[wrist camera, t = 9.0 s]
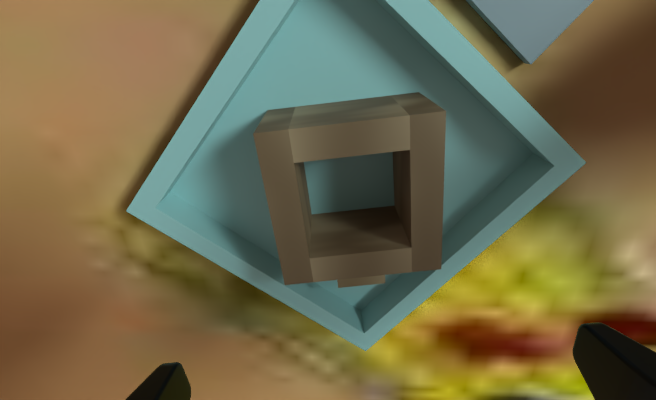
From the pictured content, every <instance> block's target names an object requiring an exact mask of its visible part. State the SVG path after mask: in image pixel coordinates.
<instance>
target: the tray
mask: <svg viewBox="0 0 656 400" xmlns="http://www.w3.org/2000/svg"><path fill="white" fill-rule="evenodd" d="M415 92H420V93H421V94H422V95H424V96H425V97H427V98H428V99H430V100H431V101H432V102H434V103H435V104H437V105H438V106H440V107H441V108H443V109H444V110H445V111H446V133H445V166H444V198H443V230H442V263H441V269H439V270H429V271H419V272H409V273H399V274H390V275H385V283H383V284H373V285H363V286H353V287H343V288H338V282H337V280H331V281H321V282H311V283H301V284H291V285H285V284H284V279H283V274H282V269H281V265H280V260H279V255H278V250H277V246H276V241H275V236H274V231H273V227H272V222H271V217H270V212H269V208H268V203H267V198H266V193H265V189H264V184H263V179H262V174H261V170H260V165H259V160H258V155H257V150H256V146H255V141H254V136H253V133H254V131H255V130H256V128H257V126H258V125H259V123H260V122H261V120H262V118H263V117H264V115H265V114H266V112H267V110H272V109H281V108H289V107H298V106H306V105H314V104H323V103H331V102H340V101H348V100H356V99H365V98H373V97H382V96H390V95H398V94H407V93H415ZM584 164H586V162H585V161H584V160H583V159H582V158H581V157H580V156H579V155H578V154H577V152H576V151H575V150H574V149H573V148H572V147H571V146H570V145H569V144H568V143H567V142H566V141H565V140H564V139H563V138H562V137H561V136H560V135H559V134H558V133H557V132H556V131H555V130H554V129H553V128H552V127H551V126H550V125H549V124H548V123H547V122H546V121H545V120H544V119H543V118H542V117H541V116H540V114H539V113H538V112H537V111H536V110H535V109H534V108H533V107H532V106H531V105H530V104H529V103H528V102H527V101H526V100H525V99H524V98H523V97H522V96H521V95H520V94H519V93H518V92H517V91H516V90H515V89H514V88H513V87H512V86H511V85H510V84H509V83H508V82H507V81H506V80H505V79H504V78H503V76H502V75H501V74H500V73H499V72H498V71H497V70H496V69H495V68H494V67H493V66H492V65H491V64H490V63H489V62H488V61H487V60H486V59H485V58H484V57H483V56H482V55H481V54H480V53H479V52H478V51H477V50H476V49H475V48H474V47H473V46H472V45H471V44H470V43H469V42H468V41H467V40H466V39H465V37H464V36H463V35H462V34H461V33H460V32H459V31H458V30H457V29H456V28H455V27H454V26H453V25H452V24H451V23H450V22H449V21H448V20H447V19H446V18H445V17H444V16H443V15H442V14H441V13H440V12H439V11H438V10H437V9H436V8H435V7H434V6H433V5H432V4H431V3H430V2H429V1H428V0H260V1H259V2H258V4H257V5H256V7H255V9H254V10H253V12H252V13H251V15H250V16H249V18H248V20H247V21H246V23H245V24H244V26H243V27H242V29H241V31H240V32H239V34H238V35H237V37H236V38H235V40H234V42H233V43H232V45H231V46H230V48H229V49H228V51H227V53H226V54H225V56H224V57H223V59H222V61H221V62H220V64H219V65H218V67H217V68H216V70H215V72H214V73H213V75H212V76H211V78H210V79H209V81H208V83H207V84H206V86H205V87H204V89H203V90H202V92H201V94H200V95H199V97H198V98H197V100H196V102H195V103H194V105H193V106H192V108H191V109H190V111H189V113H188V114H187V116H186V117H185V119H184V120H183V122H182V124H181V125H180V127H179V128H178V130H177V131H176V133H175V135H174V136H173V138H172V139H171V141H170V142H169V144H168V146H167V147H166V149H165V150H164V152H163V154H162V155H161V157H160V158H159V160H158V161H157V163H156V165H155V166H154V168H153V169H152V171H151V172H150V174H149V176H148V177H147V179H146V180H145V182H144V183H143V185H142V187H141V188H140V190H139V191H138V193H137V194H136V196H135V198H134V199H133V201H132V202H131V204H130V206H129V207H128V209H127V210H126V211H127V212H128V213H130V214H132V215H133V216H135V217H137V218H139V219H140V220H142V221H144V222H145V223H147V224H149V225H151V226H152V227H154V228H156V229H157V230H159V231H161V232H163V233H164V234H166V235H168V236H169V237H171V238H173V239H175V240H176V241H178V242H180V243H181V244H183V245H185V246H187V247H188V248H190V249H192V250H193V251H195V252H197V253H199V254H200V255H202V256H204V257H205V258H207V259H209V260H211V261H212V262H214V263H216V264H217V265H219V266H221V267H222V268H224V269H226V270H228V271H229V272H231V273H233V274H234V275H236V276H238V277H240V278H241V279H243V280H245V281H246V282H248V283H250V284H252V285H253V286H255V287H257V288H258V289H260V290H262V291H264V292H265V293H267V294H269V295H270V296H272V297H274V298H276V299H277V300H279V301H281V302H282V303H284V304H286V305H288V306H289V307H291V308H293V309H294V310H296V311H298V312H300V313H301V314H303V315H305V316H306V317H308V318H310V319H312V320H313V321H315V322H317V323H318V324H320V325H322V326H324V327H325V328H327V329H329V330H330V331H332V332H334V333H336V334H337V335H339V336H341V337H342V338H344V339H346V340H348V341H349V342H351V343H353V344H354V345H356V346H358V347H359V348H361V349H363V350H365V351H366V350H367V349H369V348H370V347H371V346H372V345H373V344H375V343H376V342H377V341H378V340H379V339H380V338H382V337H383V336H384V335H385V334H386V333H387V332H389V331H390V330H391V329H392V328H393V327H394V326H396V325H397V324H398V323H399V322H400V321H401V320H403V319H404V318H405V317H406V316H407V315H409V314H410V313H411V312H412V311H413V310H414V309H416V308H417V307H418V306H419V305H420V304H421V303H423V302H424V301H425V300H426V299H427V298H428V297H430V296H431V295H432V294H433V293H434V292H435V291H437V290H438V289H439V288H440V287H441V286H443V285H444V284H445V283H446V282H447V281H448V280H450V279H451V278H452V277H453V276H454V275H455V274H457V273H458V272H459V271H460V270H461V269H462V268H464V267H465V266H466V265H467V264H468V263H469V262H471V261H472V260H473V259H474V258H475V257H477V256H478V255H479V254H480V253H481V252H482V251H484V250H485V249H486V248H487V247H488V246H489V245H491V244H492V243H493V242H494V241H495V240H496V239H498V238H499V237H500V236H501V235H502V234H503V233H505V232H506V231H507V230H508V229H509V228H511V227H512V226H513V225H514V224H515V223H516V222H518V221H519V220H520V219H521V218H522V217H523V216H525V215H526V214H527V213H528V212H529V211H530V210H532V209H533V208H534V207H535V206H536V205H537V204H539V203H540V202H541V201H542V200H543V199H545V198H546V197H547V196H548V195H549V194H550V193H552V192H553V191H554V190H555V189H556V188H557V187H559V186H560V185H561V184H562V183H563V182H564V181H566V180H567V179H568V178H569V177H570V176H571V175H573V174H574V173H575V172H576V171H577V170H579V169H580V168H581V167H582V166H583V165H584ZM304 167H305V173H306V180H307V186H308V193H309V199H310V206H311V213H312V214H321V213H330V212H339V211H348V210H358V209H367V208H376V207H385V206H394V179H393V152H387V153H378V154H369V155H360V156H351V157H343V158H334V159H325V160H316V161H307V162H304Z"/></svg>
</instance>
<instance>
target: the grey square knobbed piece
mask: <svg viewBox="0 0 656 400" xmlns="http://www.w3.org/2000/svg"><path fill="white" fill-rule="evenodd" d="M466 1H467V2H468V3H469V4H470V6H471V7H472V8H473V9H474V10H475V11H476V12H477V13H478V14H479V15H480V16H481V17H482V18H483V19H484V21H485V22H486V23H487V24H488V25H489V26H490V27H491V28H492V29H493V30H494V31H495V32H496V33H497V34H498V36H499V37H500V38H501V39H502V40H503V41H504V42H505V43H506V44H507V45H508V46H509V47H510V48H511V49H512V51H513V52H514V53H515V54H516V55H517V56H518V57H519V58H520V59H521V60H522V61H523V62H524V63H527V64H532V63H533V62H534V61H535V60H536V59H537V58H538V57H539V56H540V55H541V54H542V53H543V52H544V51H545V50H546V49H547V48H548V46H549V45H550V44H551V43H552V42H553V41H554V40H555V39H556V38H557V37H558V36H559V35H560V34H561V33H562V32H563V31H564V30H565V29H566V28H567V27H568V26H569V25H570V24H571V23H572V22H573V21H574V20H575V19H576V18H577V17H578V16H579V15H580V14H581V13H582V12H583V11H584V10H585V9H586V8H587V7H588V6H589V5H590V4H591V3H592V2H593V1H594V0H466Z"/></svg>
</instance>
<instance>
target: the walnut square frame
mask: <svg viewBox="0 0 656 400" xmlns="http://www.w3.org/2000/svg"><path fill="white" fill-rule="evenodd" d="M445 133H446V111H445V110H444V109H443V108H441V107H440V106H438V105H437V104H435V103H434V102H432V101H431V100H430V99H428V98H427V97H425V96H424V95H422V94H421V93H420V92H415V93H407V94H398V95H390V96H382V97H373V98H365V99H356V100H348V101H340V102H331V103H323V104H314V105H306V106H298V107H289V108H281V109H272V110H267V112H266V114H265V115H264V117H263V118H262V120H261V122H260V123H259V125H258V126H257V128H256V130H255V131H254V133H253V136H254V141H255V146H256V150H257V155H258V160H259V165H260V170H261V174H262V179H263V184H264V189H265V193H266V198H267V203H268V208H269V212H270V217H271V222H272V227H273V231H274V236H275V241H276V246H277V250H278V255H279V260H280V265H281V269H282V274H283V279H284V284H285V285H291V284H301V283H311V282H321V281H331V280H337V282H338V288H343V287H353V286H363V285H373V284H383V283H385V275H390V274H399V273H409V272H419V271H429V270H439V269H441V263H442V230H443V198H444V166H445ZM387 152H393V179H394V206H385V207H376V208H367V209H358V210H348V211H339V212H330V213H321V214H312V213H311V206H310V199H309V193H308V186H307V180H306V173H305V167H304V162H307V161H316V160H325V159H334V158H343V157H351V156H360V155H369V154H378V153H387Z"/></svg>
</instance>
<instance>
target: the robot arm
mask: <svg viewBox="0 0 656 400" xmlns="http://www.w3.org/2000/svg"><path fill="white" fill-rule="evenodd" d="M573 357H574V360H575V362H576V364H577V366H578V368H579V370H580V372H581V374H582V376H583V378H584V379H585V381H586V383H587V385H588V387H589V389H590V391H591V393H592V395H593V397H594V399H595V400H656V352H654V351H652V350H651V349H649V348H647V347H645V346H643V345H642V344H640V343H638V342H636V341H634V340H632V339H631V338H629V337H627V336H625V335H623V334H622V333H620V332H618V331H616V330H614V329H613V328H611V327H609V326H607V325H605V324H603V323H587V324H582V325H581V326H579V328H578V332H577V335H576V339H575V343H574V347H573ZM190 397H191V387H190V383H189V381H188V379H187V376H186V374H185V371H184V369H183V367H182V365H181V364H180V363H178V362H175V363H165V364H162V365H160V366H159V367H158V368H156V369H155V370H154V371H153V372H152V374H151V375H150V376H149V377H148V378H147V379H146V380H145V381H144V382H143V383H142V384H141V385H140V386H139V387H138V388H137V389H136V390H135V391H134V392H133V393H132V394H131V395H130V396H129V397H128V398H127V399H126V400H190Z"/></svg>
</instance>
